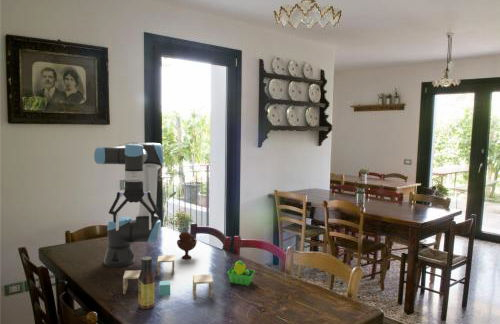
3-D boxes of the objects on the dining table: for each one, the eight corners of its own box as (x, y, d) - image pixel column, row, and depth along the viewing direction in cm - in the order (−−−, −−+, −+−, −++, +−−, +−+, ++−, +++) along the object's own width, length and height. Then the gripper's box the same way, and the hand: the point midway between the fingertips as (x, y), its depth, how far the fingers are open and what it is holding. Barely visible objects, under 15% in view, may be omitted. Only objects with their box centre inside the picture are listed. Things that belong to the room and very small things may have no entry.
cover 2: (157, 275, 183) (157, 261, 182) (158, 269, 191) (158, 255, 190) (174, 274, 185) (174, 260, 184) (174, 268, 192) (174, 255, 192)
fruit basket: (255, 281, 180) (255, 257, 179) (248, 288, 171) (249, 263, 170) (232, 277, 183) (233, 254, 182) (225, 284, 175) (226, 260, 174)
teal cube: (159, 295, 161) (159, 285, 161) (159, 291, 166) (159, 281, 165) (170, 295, 162) (170, 284, 162) (170, 290, 166) (170, 280, 166)
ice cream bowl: (193, 262, 203) (193, 234, 201) (173, 260, 205) (173, 232, 204) (199, 255, 213) (199, 229, 212) (180, 254, 215) (181, 227, 214)
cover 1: (123, 293, 162) (123, 277, 161) (125, 286, 170) (125, 270, 169) (142, 292, 163) (142, 276, 163) (143, 285, 171) (144, 269, 171)
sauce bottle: (140, 302, 154) (140, 254, 152) (155, 302, 154) (156, 254, 153) (136, 310, 147) (136, 260, 146) (153, 310, 148) (153, 260, 146)
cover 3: (193, 298, 159) (193, 282, 158) (192, 290, 167) (192, 275, 166) (212, 297, 160) (213, 281, 160) (210, 289, 168) (211, 274, 168)
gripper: (101, 181, 156) (101, 232, 158) (163, 181, 161) (163, 230, 163) (104, 179, 164) (104, 227, 165) (164, 179, 169) (163, 226, 170)
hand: (133, 229), depth 164 cm, fingers open, 13 cm apart
